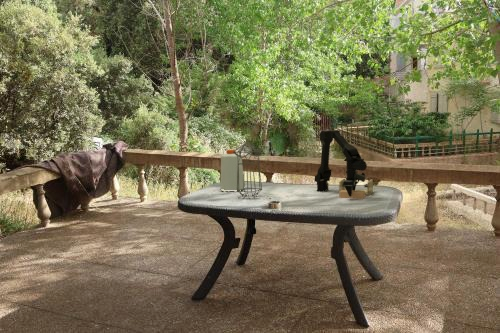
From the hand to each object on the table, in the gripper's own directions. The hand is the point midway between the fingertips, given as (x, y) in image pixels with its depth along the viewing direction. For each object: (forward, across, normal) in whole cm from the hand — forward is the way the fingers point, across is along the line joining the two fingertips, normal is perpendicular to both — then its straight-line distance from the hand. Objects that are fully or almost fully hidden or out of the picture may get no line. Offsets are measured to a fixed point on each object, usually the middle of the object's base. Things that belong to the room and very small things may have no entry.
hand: (351, 194), depth 276 cm
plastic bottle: (+2, +9, +84) cm, 84 cm away
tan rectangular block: (+2, 0, 0) cm, 2 cm away
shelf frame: (+1, +13, 0) cm, 13 cm away
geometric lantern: (+2, -11, +62) cm, 63 cm away
